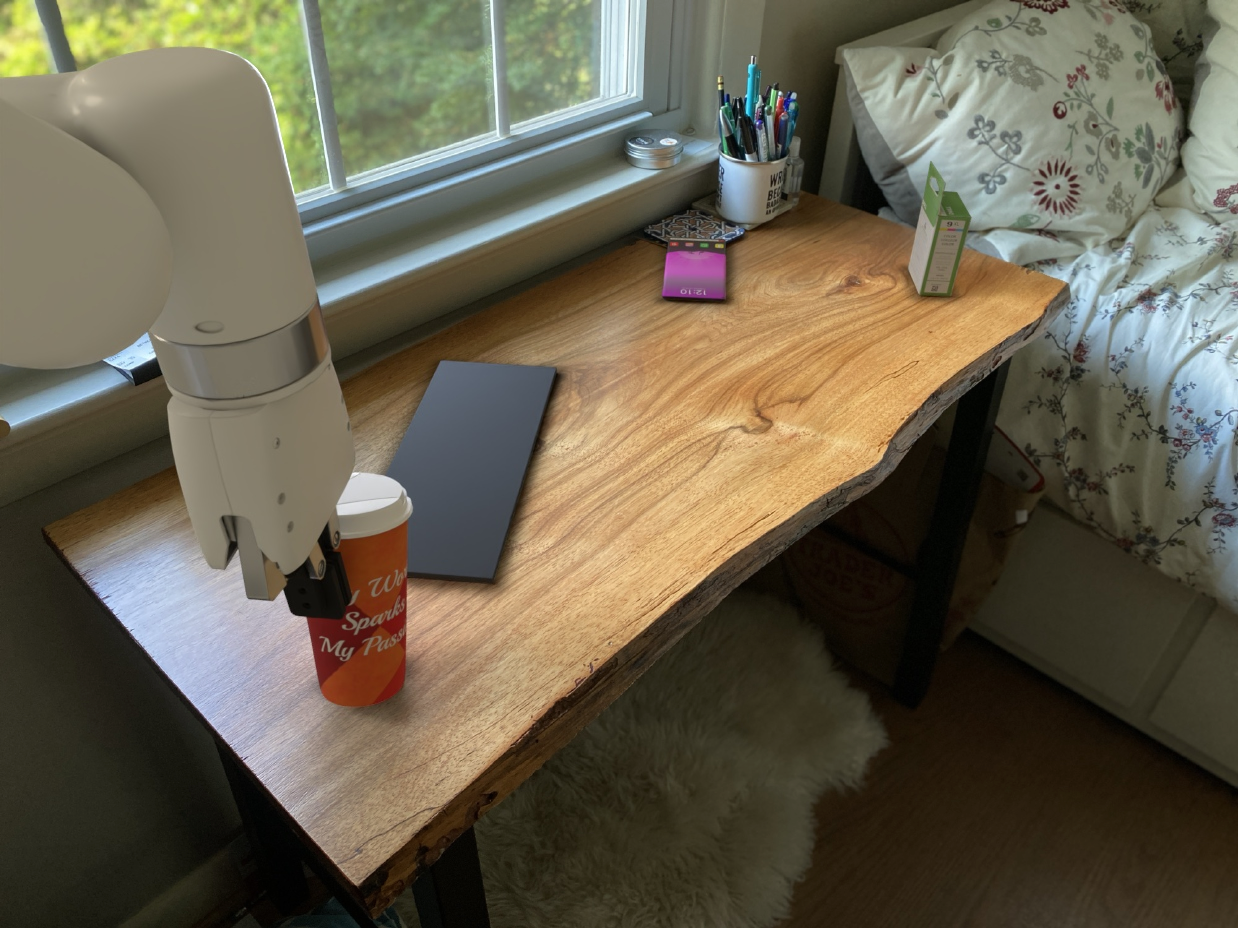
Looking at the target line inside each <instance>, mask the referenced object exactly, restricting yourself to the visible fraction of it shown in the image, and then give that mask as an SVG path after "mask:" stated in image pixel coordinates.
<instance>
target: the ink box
mask: <svg viewBox="0 0 1238 928" xmlns="http://www.w3.org/2000/svg"><path fill="white" fill-rule="evenodd" d="M928 165H929V166H928V171H927V175H926V176H927V177H926V181H925V187H924V192H923V195H922V201H921V205H920V211H919V216H918V220H917V225H916V230H915V236H914V241H913V245H912V250H911V254H910V258H909V263H908V266H907V270H908V272H909V274H910V277H911V279H912V282H913V284H914V287H915V289H916V292H917V294H918V295H919V296H932V297H941V298H942V297H946V298H947V297H952V295H953V291H954V286H955V283H956V279H957V276H958V273H959V272H958V271H959V268H960V264H961V260H962V257H963V253H964V249H965V245H966V241H967V237H968V233H969V229H970V226H971V221H972V216H971V214H970V212H969V211H968V208H967V207H966V205H965V204H964V201H963V200H962V198H961V196H960V194H959V192H958V191H949V190H946V189H945V188H946V185H947V183H946V181H945V180H944V179H943V177H942V175H941V174H940V172H939V171H938V169H937V168H936V166H935V164H934V163H933V162H932V160H930V161H929V164H928ZM932 179H935V181H936V184H937V187H938V190H935V189H934V186H933V185H932Z"/></svg>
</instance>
